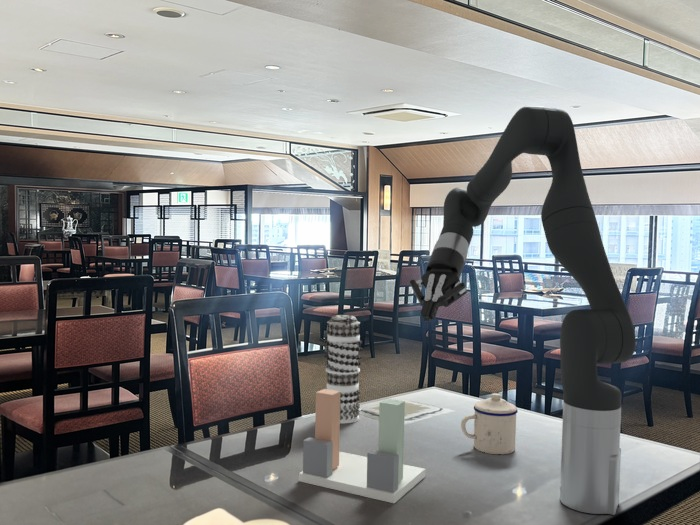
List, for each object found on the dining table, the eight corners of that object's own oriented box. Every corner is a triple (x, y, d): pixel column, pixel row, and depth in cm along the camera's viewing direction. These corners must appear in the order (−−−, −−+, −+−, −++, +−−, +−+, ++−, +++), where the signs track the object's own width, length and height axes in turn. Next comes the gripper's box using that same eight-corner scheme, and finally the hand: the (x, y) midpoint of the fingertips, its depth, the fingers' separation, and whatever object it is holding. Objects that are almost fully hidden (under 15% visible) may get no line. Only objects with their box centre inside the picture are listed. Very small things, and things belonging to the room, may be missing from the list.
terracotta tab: (339, 465, 123) (340, 391, 122) (331, 470, 120) (332, 394, 119) (322, 462, 124) (324, 388, 124) (314, 466, 122) (315, 392, 121)
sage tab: (402, 479, 117) (404, 401, 116) (396, 484, 114) (397, 405, 113) (385, 475, 118) (386, 398, 118) (377, 480, 116) (379, 402, 115)
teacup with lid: (505, 440, 145) (507, 388, 145) (523, 454, 136) (525, 399, 136) (453, 442, 143) (455, 389, 143) (468, 457, 134) (470, 400, 134)
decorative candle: (348, 426, 153) (350, 319, 152) (315, 419, 158) (317, 316, 157) (367, 417, 161) (370, 315, 160) (336, 411, 166) (337, 312, 165)
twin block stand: (425, 476, 123) (426, 437, 123) (394, 503, 111) (395, 459, 110) (336, 458, 132) (337, 421, 131) (298, 481, 120) (299, 440, 119)
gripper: (416, 245, 146) (392, 305, 136) (474, 246, 140) (453, 309, 130) (424, 267, 151) (401, 327, 141) (480, 270, 145) (461, 333, 135)
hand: (426, 318), depth 135 cm, fingers closed
